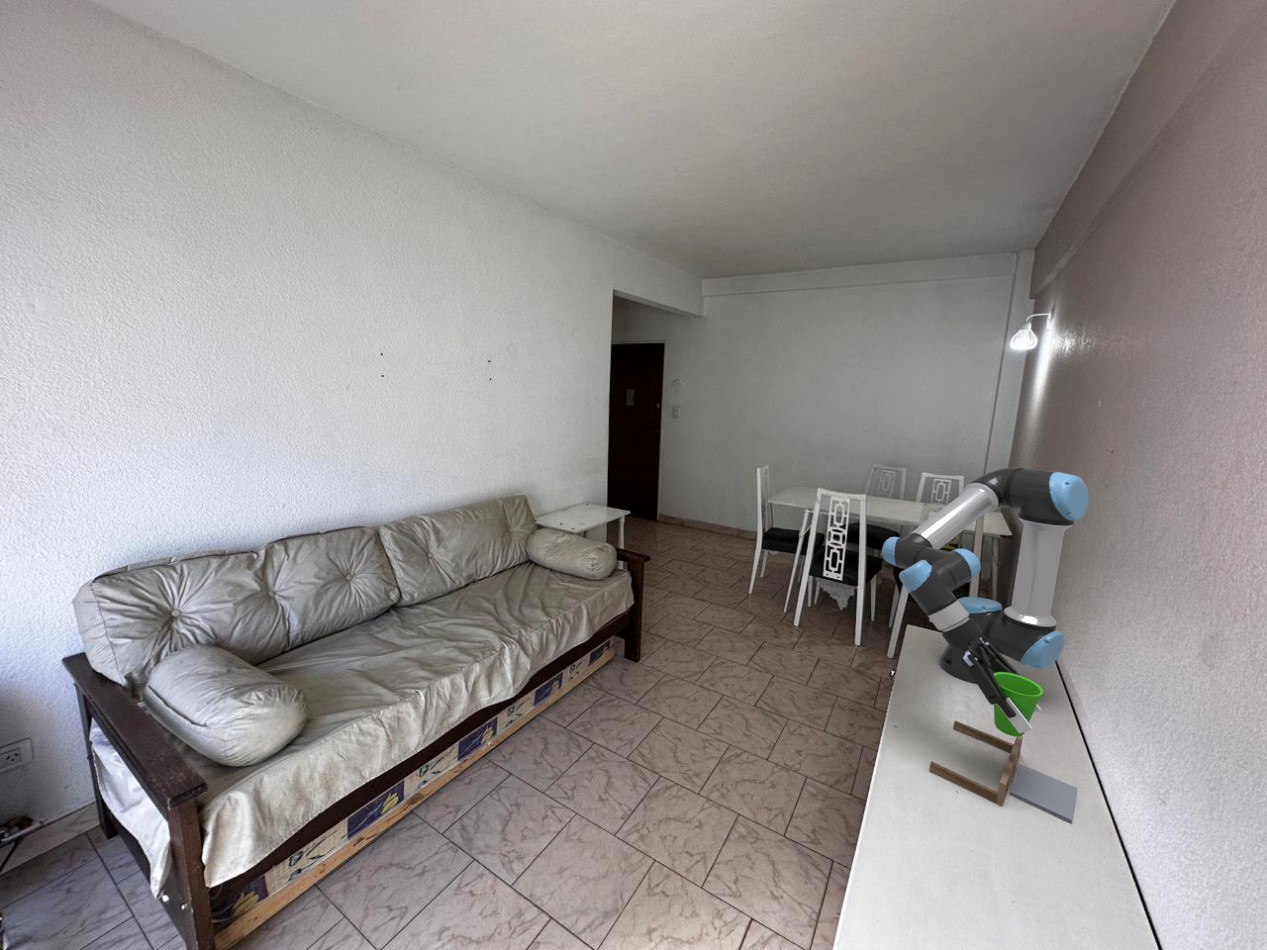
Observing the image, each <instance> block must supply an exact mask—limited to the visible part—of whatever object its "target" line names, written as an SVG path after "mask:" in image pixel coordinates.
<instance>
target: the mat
mask: <svg viewBox="0 0 1267 950" xmlns="http://www.w3.org/2000/svg"><path fill="white" fill-rule="evenodd" d="M1017 766H1018V767H1017V769H1016V771H1015V776H1014V779H1013V782H1012V785H1011V788H1010V789H1009V795H1010V796H1011V797H1013V798H1016V799H1018V800H1020V801H1022V802H1024V803H1026V804H1029V805H1030V806H1032V807H1035V808H1037V809H1039V810H1040V811H1043V812H1046V813H1048V814H1050V815H1052V816H1054V817H1057V818H1058V819H1061V821H1062V820H1063V821H1064V822H1066V823H1069V824H1072V823H1073V817H1074V815H1073V814H1074V812H1075V811H1074V810H1075V804H1076V798H1077V797H1076V796H1077V793H1078V792H1077V791H1078V787H1076V786H1074V785H1071V784H1069V783H1066V782H1064V781H1062V780H1059V779H1057V778H1054V777H1052V776H1050V775H1048V774H1045V773H1042V772H1040V771H1038V770H1036V769H1034V768H1031V767H1028V766H1026V765H1024V764H1022V763H1019V764H1018V765H1017Z"/></svg>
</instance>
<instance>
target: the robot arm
mask: <svg viewBox="0 0 1267 950" xmlns="http://www.w3.org/2000/svg"><path fill="white" fill-rule="evenodd" d="M1089 499H1090V497H1089V491H1088V487H1087V485H1086V484H1085V482H1084V480H1083V479H1082V478H1081V477H1080V476H1077V475H1074V474H1070V473H1065V472H1060V471H1052V470H1041V469H1033V468H1024V467H1019V466H1018V467H1017V466H1010V467H1003V468H999V469H995V470H993V471H990V472H987V473H985V474H983V475H980V476H979V477H977V478H976V479H974V480H971V481H970V482H969V483H968V484H967V485H965V486H964V488H963V492H962V493H961V494H960V495H958V496H957V497H956V498H955V499H953V500H952V501H951V502H950V503H948V504H947V505H946V506H944V507H943V508H942V509H940V510H939V511H937V512H936V513H935V514H934V515H932V516H931V517H929V518H928V519H927V520H926V521H924V522H923V523H922V524H921V525H919V526H918V527H917V528H915V529H914V530H913V531H911V532H910V533H909V534H907V535H906V536H904V538H902V537H899V536H898V537H897V536H892V537H889V538H888V539H886V540H885V541H884V543H883V546H882V549H881V555H882V558H883V559H884V561H886V562H887V563H889V564H890V565H893V566H895V567H898V568H900V569H903V570H902V571H900V573H899V575H898V577H899V579H900V582H901V583H902V585H903V587H904V588H905V589H906V591H907V593H909V594H910V596H911V597H912V598H913V600H914V601H915V602H916V603H917V604H918V606H919V608H920V609H922V611H923V612H924V613H925V614H926V616H927V617H928V618H929V619H928V620H929V622H930V623H932V624H933V625H934V626H935V628H936V629H937V630H938V631H941V636H942V637H943V639H944V640H945V641H946V643H947V645H946V647H945V649H944V651H943V652H942V654H941V656H940V660H939V662H940V663H939V665H940V667H941V668H942V669H943V670H944V671H945V672H946V673H948V674H950V675H952V676H953V677H955V678H957V679H960V680H961V681H965V682H970V683H972V684H977V686H978V688H979V689H980V692H982V694H983V695H984V697H985V699H986V700H987V702H988V703H989V705H993V706H994V704H997V705H998V706H999V708H1000V709H1001V710H1002V712H1003V713H1004V714H1005V715H1006V717H1007V718H1008V719H1009V721H1010V722H1011V723H1012V725H1013V726H1014V727H1015V729H1016V730H1017V731H1018V732H1019V733H1023V732H1025V733H1026V732H1029V731H1033V726H1032V725H1031V724H1030V722H1029V723H1028V721H1027V720H1026V719H1025V717H1024V716H1023V715H1022V714H1021V712H1020V711H1019V710H1018V708H1017V707H1016V706H1015V705H1014V703H1013V702H1012V701H1011V699H1010V698H1006V696H1005V694H1004V692H1003V691H1002V689H1001V687H1000V685H999V683H998V682H997V680H996V678H995V676H994V673H997V672H1007V673H1013V674H1016V675H1020V673H1018V671H1017V670H1016V669H1015V668H1014V667H1013V666H1012V664H1011V663H1010V662H1009V661H1008V660H1007V659H1006V658H1005V657H1004V656H1006V657H1008V658H1010V659H1013V661H1017V662H1018V663H1021V664H1022V665H1026V666H1029V667H1032V668H1034V669H1036V670H1044V669H1046V668H1049V667H1050V666H1051V665H1052V664H1053V663H1055V662H1056V661H1057V660H1058V658H1059V656H1060V655H1061V653H1062V651H1063V648H1064V646H1065V642H1066V641H1065V636H1064V634H1063V633H1061V632H1060V631H1059V630H1056V628H1057V621H1056V619H1055V618H1054V616H1052V607H1053V602H1054V596H1055V590H1056V583H1057V578H1058V571H1059V565H1060V559H1061V555H1062V554H1061V553H1062V547H1063V541H1064V535H1065V531H1066V530H1068V529H1069V528H1071V527H1073V526H1074V521H1079V520H1081V519H1082V518H1084V516H1085V515H1086V511H1087V510H1088V507H1089V501H1090V500H1089ZM999 508H1010V509H1014V510H1018V514H1017V515H1018V516H1017V518H1018V519H1019V521H1020V522H1021V523H1022V524H1023V529H1022V533H1021V541H1020V547H1019V554H1018V561H1017V568H1016V572H1015V580H1014V587H1013V593H1012V601H1011V605H1010V606H1008V607H1006V608H1004V609H1003V606H1002V604H1001V603H1000V602H999V601H997V600H993V599H990V598H985V597H984V598H983V597H978V596H977V597H976V596H967V597H960V598H958V599H957V597H956V596H955V595H954V593H953V592H954V591H956V590H957V589H958V588H960V587H962V586H963V585H966V584H967V583H969V582H971V581H972V580H973V579H974V578H975V577H976V576H978V575H979V574H980V573H981V569H982V568H981V567H982V566H981V565H982V564H981V561H980V560H979V558H978V556H977V555H976V554H975V553H973V552H972V551H970V550H968V549H967V548H966V549H965V548H956V549H954V550H951V551H950V552H948V551H944V550H941V548H942V547H944V546H945V545H947V544H948V543H949V542H950V541H951V540H952V539H954V538H955V537H957V536H958V535H959V534H960V533H962V532H963V531H965V529H967V528H968V527H969V526H970V525H972V524H973V523H974V522H975V521H976V520H979V518H981V517H982V516H984V514H985V513H988V514H989V513H992V512H994V511H996V510H997V509H999ZM1041 710H1042V708H1041V706H1039V705H1038V703H1037V705H1036V707H1035V710H1034V712H1033V713H1035V712H1039V711H1041Z"/></svg>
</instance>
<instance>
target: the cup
mask: <svg viewBox="0 0 1267 950" xmlns="http://www.w3.org/2000/svg"><path fill="white" fill-rule="evenodd" d="M994 676H995V678H996V680H997V682H998V683H999V685H1000V687H1001V689H1002V691H1003V692H1004V694H1005V696H1006V698H1010V699H1011V701H1012V702H1013V703H1014V705H1015V706H1016V707H1017V708H1018V710H1019V711H1020V712H1021V714H1022V715H1023V716H1024V717H1025V719H1026V720H1027V721H1028V723H1029V724H1030V722H1031V719H1032V716H1033V714H1034V713H1035V712H1034V710H1035V707H1036V705H1037V704H1038V703H1039V700H1040V698H1041V697H1042V696H1043V695H1044V690H1043V688H1042V687H1041V685H1040V684H1038V683H1037V682H1035V681H1033V680H1032V679H1029V678H1028V677H1025V676H1022V675H1021V674H1019V675H1016V674H1013V673H1007V672H997V673H994ZM993 711H994V712H993V714H994V716H993V717H994V720H993V721H994V725H995V728H996V729H997V730H999V731H1000V732H1002V733H1003V734H1006V735H1008V736H1010V737H1015V738H1016V737H1020V736H1024V735H1025V733H1026V732H1023V733H1019V732H1018V731H1017V730H1016V729H1015V727H1014V726H1013V725H1012V723H1011V722H1010V721H1009V719H1008V718H1007V717H1006V715H1005V714H1004V713H1003V712H1002V710H1001V709H1000V708H999V706H998V705H997V704H993Z"/></svg>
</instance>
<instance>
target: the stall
mask: <svg viewBox="0 0 1267 950" xmlns="http://www.w3.org/2000/svg"><path fill="white" fill-rule="evenodd" d="M952 728H953V730H954V731H956V732H959V733H961V734H963V735H966V736H968V737H970V736H971V738H973V739H976V740H978V741H980V742H983V743H985V744H987V745H990V746H992V747H994V748H996V749H999V750H1002V751H1004V752H1006V753H1009V756H1008V759H1007V761H1006V765H1005V767H1004V770H1003V773H1002V776H1001V778H1000V781H999V784H998V785H999V786H998V790H997V791H996V790H994V789H992V788H990V787H987V786H986V785H984V784H981V783H979V782H977V781H974V780H973V779H972V778H969V777H966V776H964V775H962V774H960V773H957V772H956V771H954V770H951V769H949V768H947V767H945V766H943V765H941V764H938V763H936V762H934V761H932V760H931V761H930V763H929V772H930V773H932V774H934V775H936V776H939V777H941V778H943V779H945V780H947V781H948V782H951V783H953V784H955V785H956V786H959V787H961V788H963V789H964V790H966V791H967V790H968V791H969V792H971V793H973V794H976V795H977V796H979V797H982V798H983V799H986V800H988V801H989V802H992V803H994V804H995V805H996V804H997V805H998V806H999V807H1000V806H1001V807H1003V806H1004V803H1005V799H1006V796H1007V794H1008V791H1009V788H1010V786H1011V782H1012V779H1013V776H1014V773H1015V770H1016V767H1017V766H1018V762H1019V759H1020V755H1021V750H1022V745H1023V738H1024V735H1022V736H1020V737H1015V740H1014V743H1012V742H1009V741H1006V740H1004V739H1002V738H999V737H997V736H995V735H992V734H990V733H987V732H986V731H982V730H980V729H977V728H975V727H972V726H970V725H967V724H965V723H962V722H960V721H957V720H954V722H953V727H952Z"/></svg>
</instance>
